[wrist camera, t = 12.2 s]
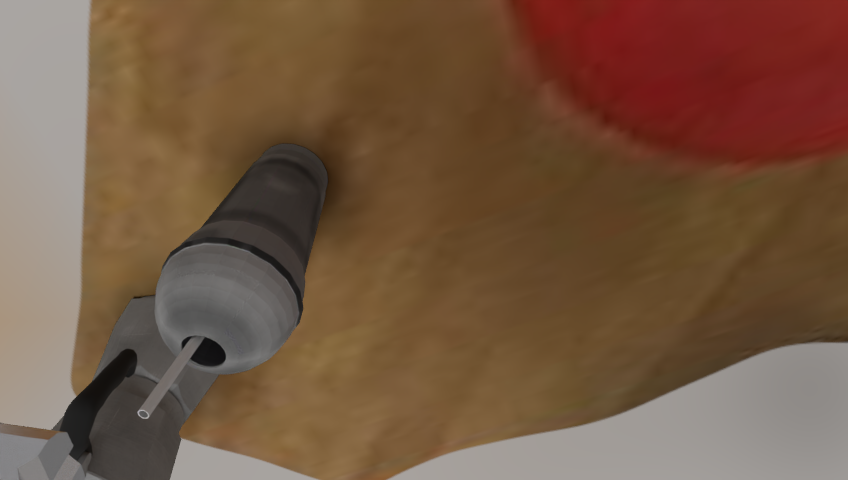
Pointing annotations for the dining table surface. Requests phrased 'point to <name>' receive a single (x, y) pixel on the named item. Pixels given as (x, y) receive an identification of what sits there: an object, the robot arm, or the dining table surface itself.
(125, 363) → the coffeepot
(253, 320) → the beverage cup
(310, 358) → the dining table surface
